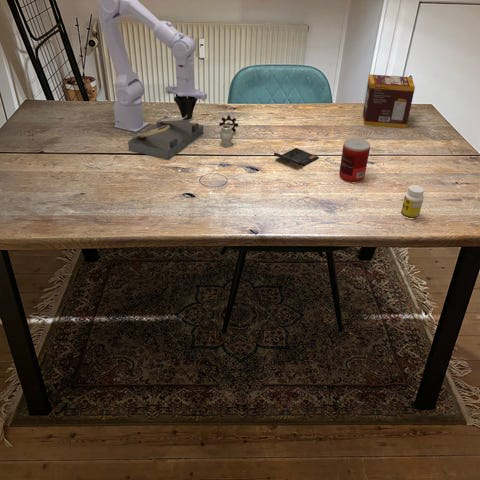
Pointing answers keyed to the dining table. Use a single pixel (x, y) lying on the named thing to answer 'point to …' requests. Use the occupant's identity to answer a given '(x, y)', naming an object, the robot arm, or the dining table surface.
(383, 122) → the supplement box
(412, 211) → the supplement bottle
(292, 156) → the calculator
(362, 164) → the canned food
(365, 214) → the dining table surface
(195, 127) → the grey flat block
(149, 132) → the brass strap
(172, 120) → the steel strap
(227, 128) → the valve
